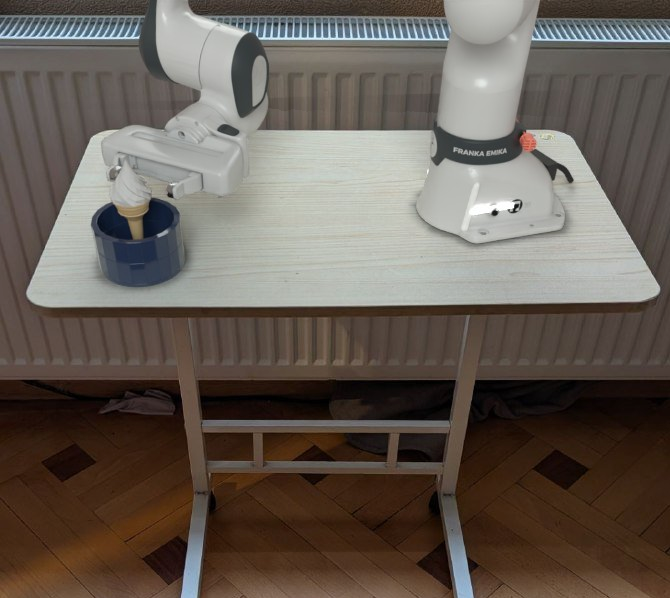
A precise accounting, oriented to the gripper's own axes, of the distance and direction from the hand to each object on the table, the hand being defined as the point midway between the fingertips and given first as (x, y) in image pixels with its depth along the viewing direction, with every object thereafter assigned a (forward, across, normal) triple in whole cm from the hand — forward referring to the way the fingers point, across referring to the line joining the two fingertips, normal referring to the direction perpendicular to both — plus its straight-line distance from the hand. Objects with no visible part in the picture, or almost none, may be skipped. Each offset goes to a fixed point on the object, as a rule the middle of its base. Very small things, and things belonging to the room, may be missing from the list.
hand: (140, 185), depth 109 cm
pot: (+2, 0, +11) cm, 11 cm away
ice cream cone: (+2, 0, +11) cm, 11 cm away
